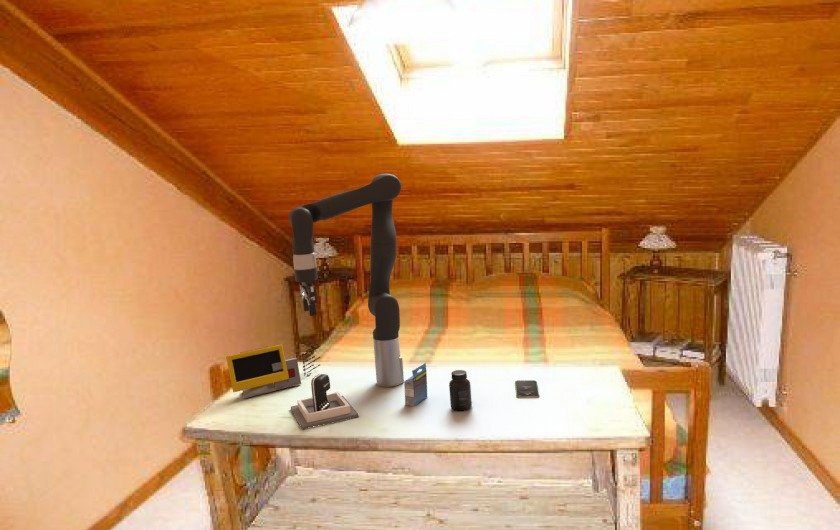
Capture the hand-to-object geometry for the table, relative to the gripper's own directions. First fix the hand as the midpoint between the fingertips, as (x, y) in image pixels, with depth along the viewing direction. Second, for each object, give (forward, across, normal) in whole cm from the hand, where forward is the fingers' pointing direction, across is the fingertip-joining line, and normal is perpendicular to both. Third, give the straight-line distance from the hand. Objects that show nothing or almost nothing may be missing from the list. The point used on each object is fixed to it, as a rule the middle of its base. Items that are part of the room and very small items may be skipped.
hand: (310, 313), depth 211 cm
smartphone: (+31, -34, -64) cm, 79 cm away
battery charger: (+29, -16, +2) cm, 33 cm away
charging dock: (+30, -16, +2) cm, 34 cm away
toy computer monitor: (+30, +16, +18) cm, 38 cm away
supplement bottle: (+30, -36, -38) cm, 60 cm away
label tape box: (+30, -23, -28) cm, 47 cm away
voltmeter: (+30, +21, +2) cm, 37 cm away
